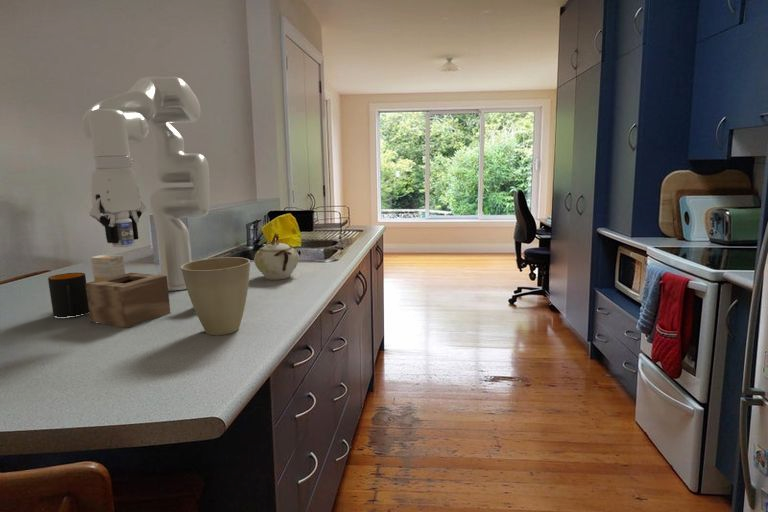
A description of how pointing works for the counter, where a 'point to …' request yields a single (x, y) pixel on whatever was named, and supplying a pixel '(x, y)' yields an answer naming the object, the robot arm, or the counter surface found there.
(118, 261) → the supplement box
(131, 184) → the robot arm
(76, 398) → the counter surface
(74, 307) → the mug
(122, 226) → the pill bottle
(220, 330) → the plant pot
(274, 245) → the sugar bowl
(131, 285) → the box
